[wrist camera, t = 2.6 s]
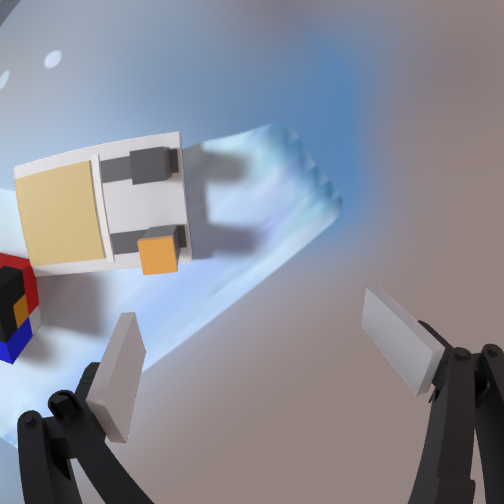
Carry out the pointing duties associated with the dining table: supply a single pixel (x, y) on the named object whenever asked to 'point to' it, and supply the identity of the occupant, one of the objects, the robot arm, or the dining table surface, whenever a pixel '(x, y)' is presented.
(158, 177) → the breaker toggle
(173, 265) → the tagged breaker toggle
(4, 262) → the puzzle toy
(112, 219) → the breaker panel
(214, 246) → the dining table surface
